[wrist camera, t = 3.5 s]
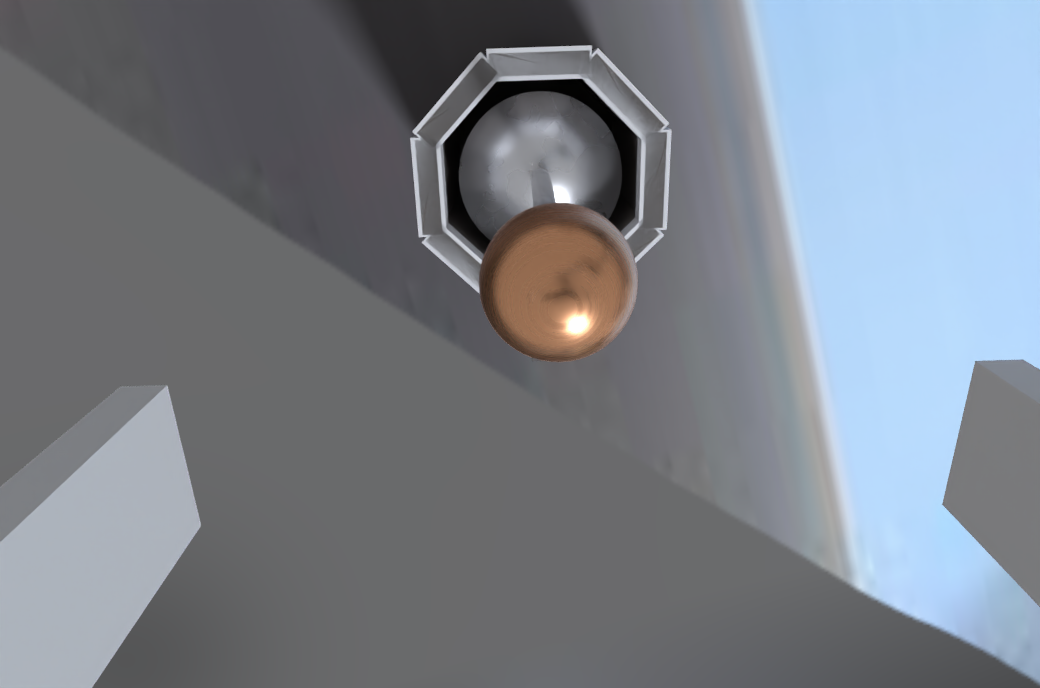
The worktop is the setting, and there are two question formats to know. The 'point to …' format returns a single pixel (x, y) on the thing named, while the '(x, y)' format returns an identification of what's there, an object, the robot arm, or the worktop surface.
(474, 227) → the grey octagonal tube
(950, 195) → the worktop surface
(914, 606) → the worktop surface
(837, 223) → the worktop surface
